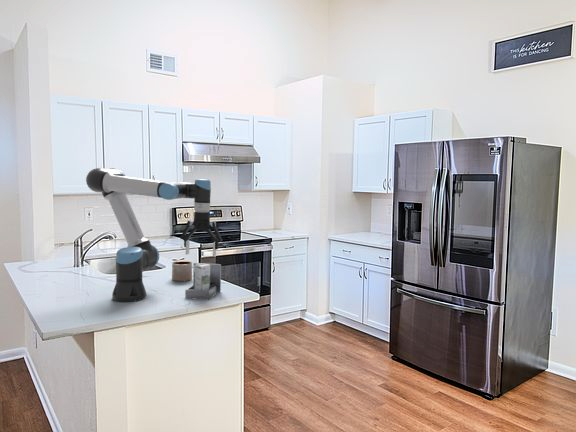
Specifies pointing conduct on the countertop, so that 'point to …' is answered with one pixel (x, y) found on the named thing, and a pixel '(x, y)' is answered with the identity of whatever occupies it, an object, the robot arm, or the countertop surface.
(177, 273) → the planter
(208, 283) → the syrup box
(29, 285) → the countertop surface
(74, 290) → the countertop surface
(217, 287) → the bracket
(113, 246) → the countertop surface
